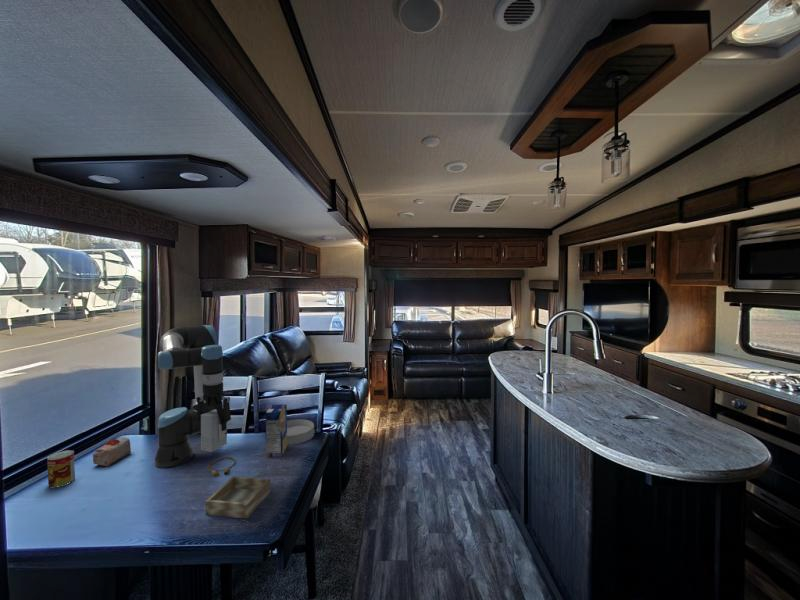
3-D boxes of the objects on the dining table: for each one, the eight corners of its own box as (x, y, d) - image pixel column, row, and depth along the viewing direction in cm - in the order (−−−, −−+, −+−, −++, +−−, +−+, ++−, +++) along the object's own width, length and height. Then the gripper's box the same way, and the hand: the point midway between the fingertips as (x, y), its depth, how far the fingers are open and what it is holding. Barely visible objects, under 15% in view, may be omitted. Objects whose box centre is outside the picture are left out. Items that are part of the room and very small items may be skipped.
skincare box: (211, 452, 137) (211, 416, 136) (199, 450, 139) (199, 414, 138) (227, 443, 145) (227, 409, 144) (216, 441, 147) (216, 407, 146)
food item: (107, 468, 154) (107, 446, 153) (91, 467, 154) (90, 446, 154) (133, 453, 167) (132, 433, 167) (117, 453, 168) (116, 433, 167)
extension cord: (197, 478, 146) (197, 473, 146) (216, 459, 162) (215, 455, 162) (226, 477, 147) (226, 473, 147) (241, 459, 162) (241, 454, 162)
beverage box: (266, 457, 162) (265, 412, 162) (273, 447, 173) (272, 404, 172) (281, 457, 163) (280, 412, 162) (287, 446, 174) (286, 404, 173)
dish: (281, 427, 198) (281, 419, 198) (319, 427, 198) (319, 419, 197) (265, 445, 176) (265, 435, 176) (307, 445, 176) (307, 436, 175)
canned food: (48, 483, 142) (47, 455, 141) (74, 475, 148) (73, 448, 147) (48, 490, 137) (47, 461, 136) (75, 482, 142) (74, 454, 142)
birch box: (205, 514, 122) (205, 501, 122) (233, 488, 138) (232, 476, 138) (247, 518, 120) (247, 504, 120) (270, 491, 136) (270, 479, 136)
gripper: (184, 384, 138) (186, 440, 139) (228, 386, 135) (230, 443, 137) (198, 379, 145) (199, 432, 146) (240, 381, 143) (241, 434, 144)
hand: (214, 437), depth 141 cm, fingers closed on skincare box, 6 cm apart
